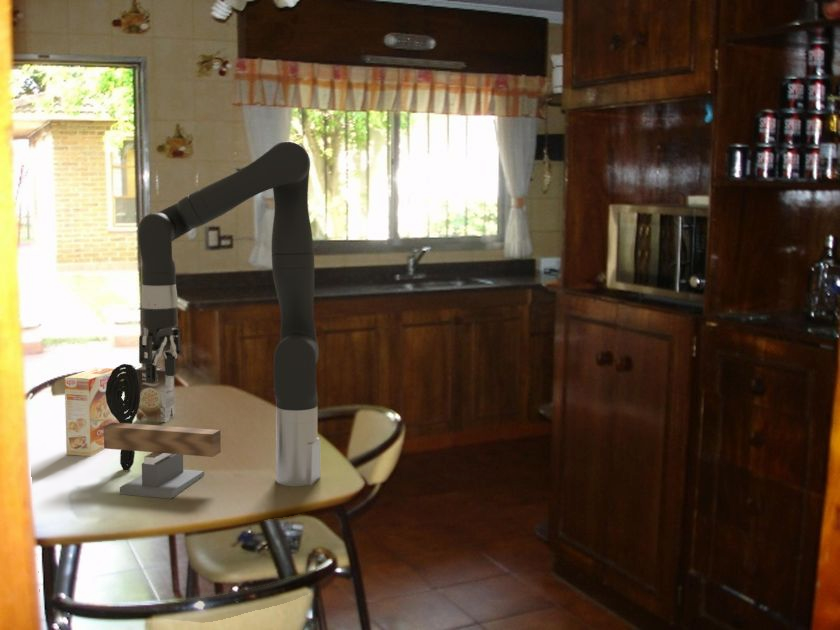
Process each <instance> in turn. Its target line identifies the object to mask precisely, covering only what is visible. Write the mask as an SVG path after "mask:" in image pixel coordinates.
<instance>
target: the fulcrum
mask: <svg viewBox="0 0 840 630" xmlns="http://www.w3.org/2000/svg"><path fill="white" fill-rule="evenodd" d="M202 476H203V477H204V476H205V471H204V470H197V469H196V470H194V469H185V468H184V455H181V454H168V453H156V452H150V453H149V454H147V455H145V456H144V457H143V462H142V463H141V475H139V476H138V477H136V478H134V479H132V480H130V481H128V482H127V483H125V484H123V485H121V486H119V495H124V496H125V495H128V496H130V495H131V496H138V497H139V496H140V497H148V498H149V497H151V498H160V499H173V498H174V497H176V496H177V495H179V494H180V493H182V492H183V491H184V490H186V489H188V488H189V487H190V486H191V485H193V484H195V483H196V482H197V481H199V480H200V479H201V478H203V477H202ZM199 478H200V479H199ZM195 481H196V482H195ZM192 483H193V484H192ZM188 486H189V487H188ZM185 488H186V489H185ZM181 491H182V492H181ZM178 493H179V494H178ZM176 494H177V495H176ZM175 495H176V496H175ZM172 497H173V498H172Z"/></svg>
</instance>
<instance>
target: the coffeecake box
mask: <svg viewBox="0 0 840 630" xmlns="http://www.w3.org/2000/svg"><path fill="white" fill-rule="evenodd" d="M114 369H115V368H112V367H111V368H108V367H106V368H105V367H93V368H90V369H88V370H85V371H82V372H78V373H75V374H72V375H69V376H65V377H64V400H65V402H64V404H65V405H64V407H65V441H66V443H65V444H66V445H65V447H66V449H65V451H66V455H69V456H83V457H93V456H94V455H96V454H98V453H99V452H101V451H103V450H105V448H104V426H106V425H108V424H111V423H113V422H115V423H119V421H118V420H117V419H116V418H115V417H114V415H113V414H112V413H111V411H110V409H109V407H108V405H107V401H106V394H105V393H106V385H107V381H108V379H109V377H110V375H111V373H112V371H113V370H114ZM117 377H118V376H117Z"/></svg>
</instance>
